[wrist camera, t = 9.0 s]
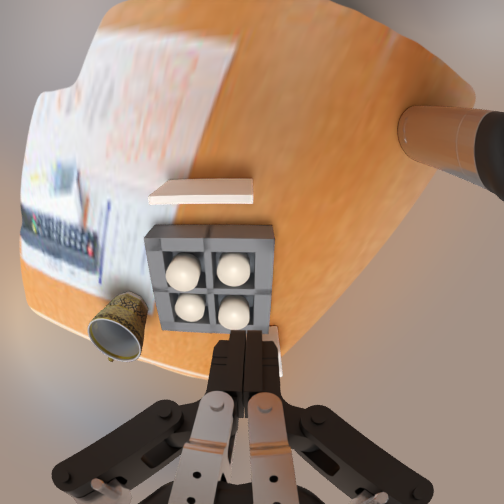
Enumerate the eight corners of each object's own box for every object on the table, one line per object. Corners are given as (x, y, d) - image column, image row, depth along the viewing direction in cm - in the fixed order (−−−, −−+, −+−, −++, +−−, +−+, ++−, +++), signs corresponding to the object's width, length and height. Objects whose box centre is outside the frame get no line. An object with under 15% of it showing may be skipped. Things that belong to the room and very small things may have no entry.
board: (272, 225, 41) (274, 239, 37) (267, 314, 49) (268, 334, 44) (154, 224, 41) (143, 238, 36) (168, 311, 48) (162, 329, 44)
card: (252, 178, 38) (253, 194, 30) (252, 186, 38) (253, 205, 30) (169, 179, 38) (148, 196, 30) (169, 187, 38) (149, 205, 30)
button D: (205, 287, 43) (202, 299, 40) (207, 310, 45) (205, 322, 42) (177, 286, 43) (172, 297, 40) (180, 309, 45) (177, 320, 42)
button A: (250, 248, 40) (250, 258, 37) (249, 275, 42) (249, 286, 39) (218, 247, 40) (216, 257, 37) (219, 275, 42) (217, 286, 39)
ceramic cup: (113, 275, 45) (89, 308, 36) (162, 298, 47) (146, 336, 38) (104, 321, 50) (85, 354, 41) (146, 341, 52) (132, 377, 43)
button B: (249, 294, 42) (249, 306, 39) (249, 317, 44) (249, 330, 41) (219, 294, 42) (217, 306, 39) (220, 317, 44) (219, 329, 41)
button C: (200, 252, 39) (196, 263, 36) (202, 280, 41) (199, 292, 38) (169, 252, 38) (163, 262, 36) (172, 279, 41) (168, 290, 38)
